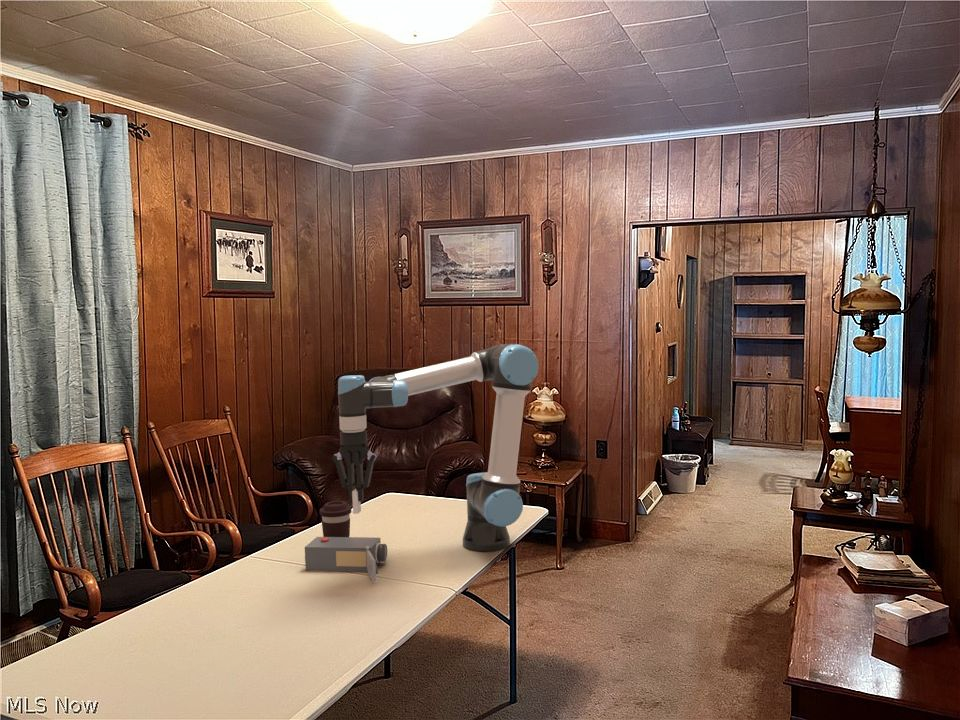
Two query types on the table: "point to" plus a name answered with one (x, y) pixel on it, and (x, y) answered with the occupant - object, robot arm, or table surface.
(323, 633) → the table surface
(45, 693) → the table surface
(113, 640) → the table surface
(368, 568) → the side door
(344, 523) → the coffee cup
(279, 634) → the table surface
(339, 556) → the camera box
